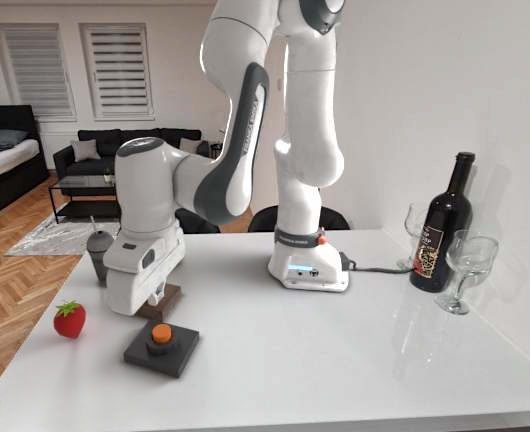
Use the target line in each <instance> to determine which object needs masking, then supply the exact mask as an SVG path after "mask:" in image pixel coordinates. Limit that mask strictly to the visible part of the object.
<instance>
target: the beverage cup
mask: <svg viewBox="0 0 530 432" xmlns="http://www.w3.org/2000/svg"><path fill="white" fill-rule="evenodd" d="M90 220H91V224H92V227H93V229H94V232H92V233H91V234H90V235H89V236H88V238H87V240H86V248H85V249H86V251H87V253H88V255H89V257H90V259H91V262H92V265H93V268H94V269H93V270H94V272H95V274H96V278H97V280H98V283H99V285H100V286H101V287H102V288H103V287H104V288H107V283H106V278H107V273H108V270H109V267H106V266H104V263H103V256H104V254H105V253H106V251H107V250H108V249H109V247H110V246H111V245H112V243H113V242H114V240H115V238H114V237H113V235H112V234H111V233H110V232H108V231H107V230H98V229H97V226H96V224H95V220H94V216H93V215H90Z"/></svg>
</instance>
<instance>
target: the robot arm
mask: <svg viewBox="0 0 530 432" xmlns="http://www.w3.org/2000/svg"><path fill="white" fill-rule="evenodd" d="M345 4H346V0H217V1H216V4H215V6H214V9H213V11H212V13H211V17H210V18H209V22H208V25H207V27H206V29H205V33H204V36H203V39H202V41H201V46H200V47H201V48H200V53H199V62H200V65H201V68H202V72H203V74H204V75H205V77H206V78H207V80H208V81H209V82H210V83H211V84H212V85H213V86H214V87H215V88H217V89H218V90H219V91H221V92H222V93H223V94H225V95H226V96H228V98H229V101H230V112H229V117H228V122H227V125H226V131H225V135H224V140H223V144H222V149H221V153H220V155H219V156H218V157H217V158H216V159H213V158H210V157H205V156H203V155H200V154H196V153H192V152H187V151H184V150H181V149H180V148H179V149H178V148H176V147H175V146H172V145H171V144H169V143H167V142H166V140H164V139H162V138H161V137H156V136H155V137H154V136H153V137H152V136H148V137H140V138H135V139H132V140H129V141H126V142H125V143H123V144H122V145H121V146H120V147H119V148H118V149H117V151H116V154H115V157H114V158H115V159H114V180H115V181H114V182H115V191H116V198H117V202H118V204H119V206H120V210H121V216H120V227H121V229H120V230H119V231H118V233H117V234H116V235H117V236H116V237H115V238H114V242H113V243H112V245H111V246H110V247H109V249H108V250H107V251H106V253H105V254H104V256H103V263H104V266H106V267H109V270H108V273H107V278H106V283H107V287H106V291H107V297H108V298H107V299H108V302H109V307H110V309H111V310H112V311H113V312H115V313H116V314H117V313H118V314H121V315H123V316H124V315H125V316H129V317H130V316H135V315H134V314H135V313H136V311H137V310H138V309H139V308H140V307H141V306H142V304H143V303H144V302H145V301H146V300H147V299H148V303H149V304H150V305H153V306H156V305H157V304H158V302H159V301H160V300H161V299H162V298H163V296H164V287H165V283H167V277H168V276H169V274H171V272H172V271H173V270H174V269H175V268H176V267H177V265H178V264H179V263H180V262H181V261H182V260H183V258H184V257H185V254H186V242H185V235H184V232H183V231H184V230H183V228H182V227H180V220H179V219H178V218H177V217H176V216H175V215H176V214H175V213H176V211H177V210H179V209H184V210H187V211H189V212H192V213H194V214H196V215H197V216H199V217H200V218H202V219H203V220H205V221H207V222H208V223H210V224H211V225H214V226H217V227H220V226H226V225H229V224H232V223H234V222H235V221H237V220H238V219H240V218H241V217H243V215H245V214H246V212H247V211H248V210H249V208H250V206H251V203H252V200H253V194H254V177H255V168H256V162H257V158H258V152H259V148H260V143H261V138H262V133H263V129H264V125H265V120H266V114H267V111H268V110H267V109H268V105H269V104H268V103H269V99H270V98H269V97H270V89H271V87H270V86H271V85H270V76H269V74H268V72H267V70H266V69H265V59H266V55H267V52H268V49H269V47H270V44H271V40H272V38H281V37H284V40H285V42H286V46H285V55H284V63H283V64H284V66H283V67H284V69H283V102H282V103H283V104H282V105H283V113H284V115H285V119H286V124H287V130H288V131H286V132H284V133H282V134H281V135H279V137H278V138H277V139H276V141H275V142H274V144H273V155H274V159H275V168H276V169H275V170H276V182H277V193H278V205H277V207H278V208H277V218H276V219H277V220H276V223H275V225H274V232H273V242H274V246H273V251H272V254H271V257H270V260H269V262H268V265H267V269H268V272H269V273H270V275H272V277H274V278H276V279H277V280H279V281H280V282H281V283H282V285H283V286H284V287H285V288H287V289H296V290H308V291H310V290H311V291H322V292H336V293H337V292H338V293H341V292H344V291H345V290H346V289H347V287H348V284H349V270H350V267H351V264H353V265H352V269H353V270H354V271H356V272H375V271H376V272H387V273H395V274H397V273H399V274H400V273H401V274H402V273H407V272H410V271H412V270H411V267H412V266H411V267H408V268H404V269H392V268H384V267H383V268H382V267H369V268H358V267H357V262H356V261H355V260H353V259H350V258H348V256H347V255H346V253H344V251H338V250H337V249H336V248H335V247H334V246H332V245H331V244H329V243H328V242H327V237H326V232H325V228H324V227H323V226H322V227H320V226H319V224H320V223H319V222H320V216H321V210H322V209H321V208H322V200H321V195H320V192H319V189H323V188H324V189H325V188H327V187H330V186H332V185H333V184H334V183H336V182H337V181H338V180H339V179H340V177H341V175H342V174H343V172H344V168H345V161H344V156H343V153H342V152H341V150H340V148H339V145H338V140H337V134H336V128H335V121H334V105H333V104H334V89H335V76H336V65H337V64H336V63H337V41H336V39H337V38H336V28H335V24H336V21H337V20H339V17H340V15H341V14H342V12H343V9H344V7H345ZM180 260H181V261H180Z"/></svg>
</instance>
